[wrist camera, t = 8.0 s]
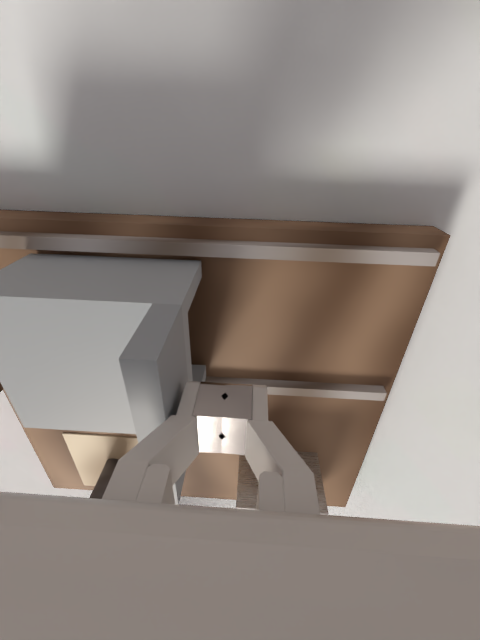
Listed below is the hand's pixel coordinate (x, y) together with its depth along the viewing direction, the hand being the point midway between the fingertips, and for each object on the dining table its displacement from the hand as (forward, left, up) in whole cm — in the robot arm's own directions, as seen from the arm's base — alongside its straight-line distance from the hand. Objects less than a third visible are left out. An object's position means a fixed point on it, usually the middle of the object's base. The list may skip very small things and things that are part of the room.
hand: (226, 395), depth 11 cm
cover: (+6, 0, -5) cm, 8 cm away
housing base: (+3, +6, -7) cm, 10 cm away
